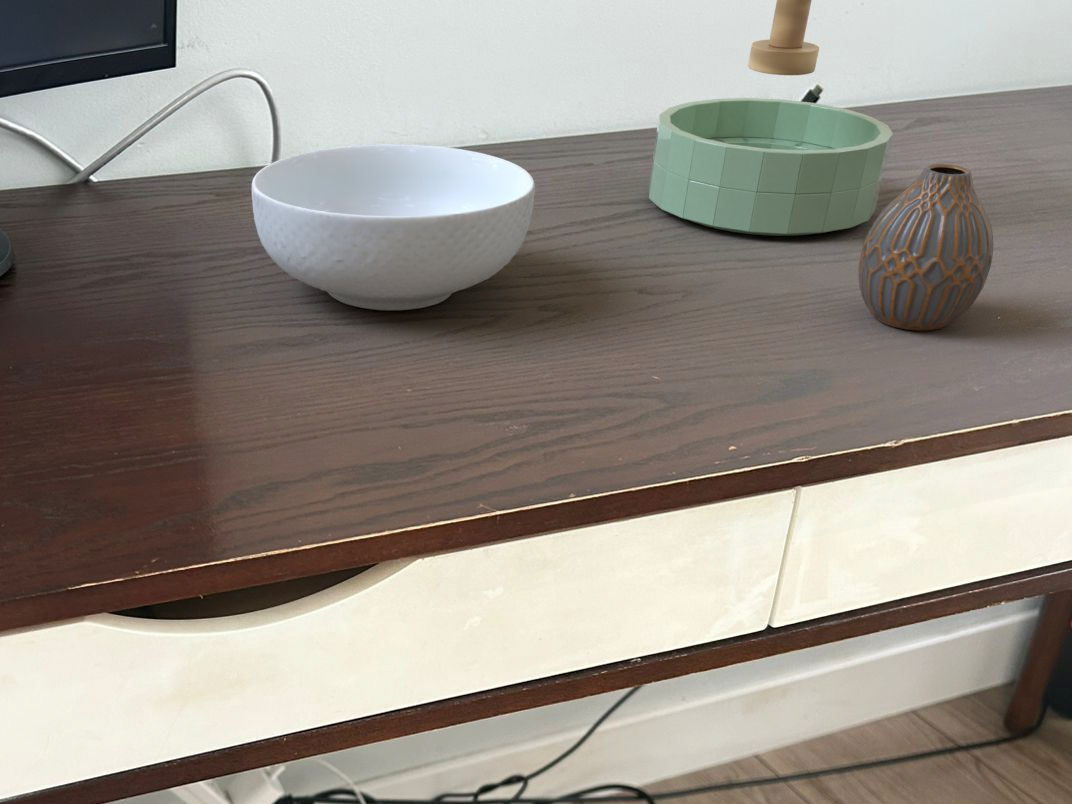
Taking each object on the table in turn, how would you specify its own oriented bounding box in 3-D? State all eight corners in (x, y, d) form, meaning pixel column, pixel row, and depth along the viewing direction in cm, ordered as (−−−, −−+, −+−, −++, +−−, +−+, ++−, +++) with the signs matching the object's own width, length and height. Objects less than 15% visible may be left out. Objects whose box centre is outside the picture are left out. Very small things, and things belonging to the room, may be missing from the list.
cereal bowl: (508, 246, 92) (518, 139, 89) (541, 340, 78) (555, 218, 75) (258, 245, 93) (256, 139, 89) (246, 338, 79) (244, 216, 75)
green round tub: (855, 184, 104) (873, 103, 101) (887, 249, 92) (910, 158, 88) (645, 173, 107) (657, 94, 104) (649, 234, 94) (662, 146, 91)
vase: (854, 335, 79) (890, 182, 74) (841, 294, 84) (874, 149, 80) (983, 345, 77) (1028, 190, 73) (961, 303, 83) (1002, 156, 78)
